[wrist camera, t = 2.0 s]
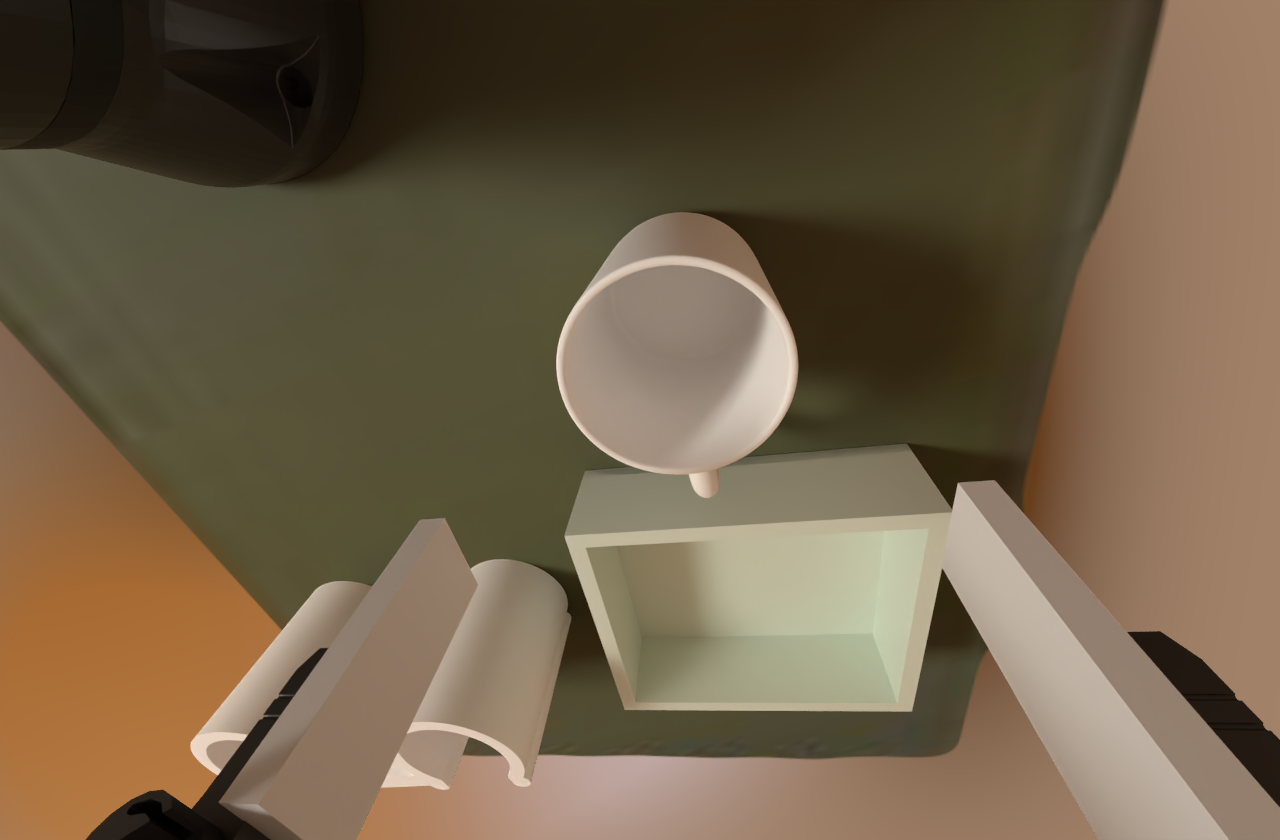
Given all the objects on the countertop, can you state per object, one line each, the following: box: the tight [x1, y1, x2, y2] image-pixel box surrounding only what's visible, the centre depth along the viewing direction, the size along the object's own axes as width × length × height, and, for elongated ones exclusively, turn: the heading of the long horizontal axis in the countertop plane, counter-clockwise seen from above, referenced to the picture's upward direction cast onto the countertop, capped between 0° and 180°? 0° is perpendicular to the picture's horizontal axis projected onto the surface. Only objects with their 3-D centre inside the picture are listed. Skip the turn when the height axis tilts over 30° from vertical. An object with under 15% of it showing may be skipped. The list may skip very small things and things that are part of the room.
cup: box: [556, 212, 798, 498], centre depth 21 cm, size 8×12×10 cm
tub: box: [564, 443, 952, 711], centre depth 32 cm, size 18×20×6 cm
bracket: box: [191, 559, 571, 790], centre depth 36 cm, size 25×10×12 cm, turn 109°
